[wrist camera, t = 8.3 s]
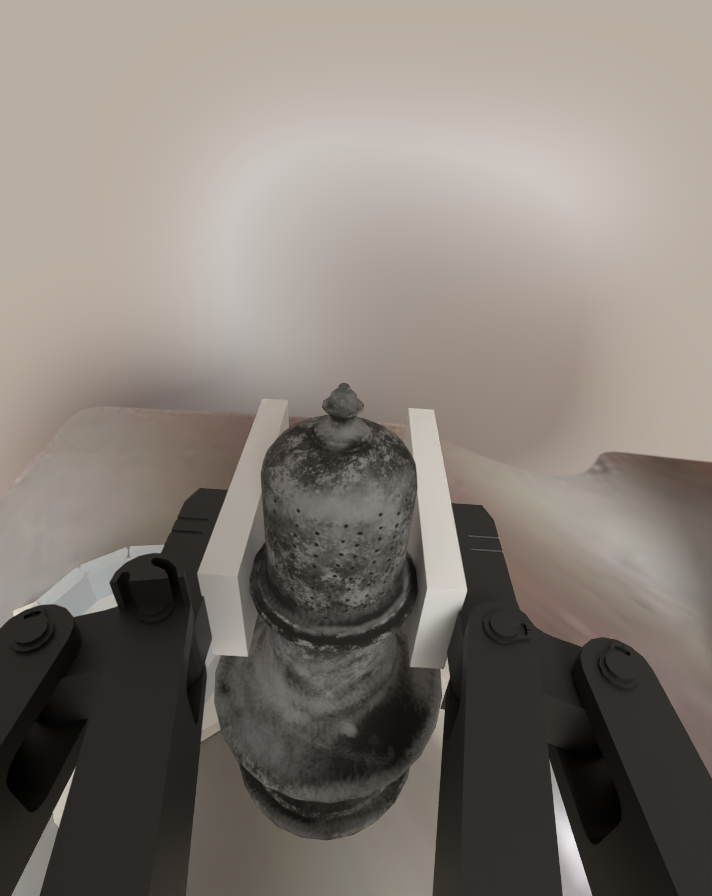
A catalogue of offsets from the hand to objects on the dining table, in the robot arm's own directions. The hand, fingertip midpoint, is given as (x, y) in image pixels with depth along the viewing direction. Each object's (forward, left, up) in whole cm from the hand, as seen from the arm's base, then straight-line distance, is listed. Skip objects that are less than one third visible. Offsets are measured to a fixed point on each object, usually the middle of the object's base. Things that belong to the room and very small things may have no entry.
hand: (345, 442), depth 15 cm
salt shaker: (+3, +4, -7) cm, 9 cm away
